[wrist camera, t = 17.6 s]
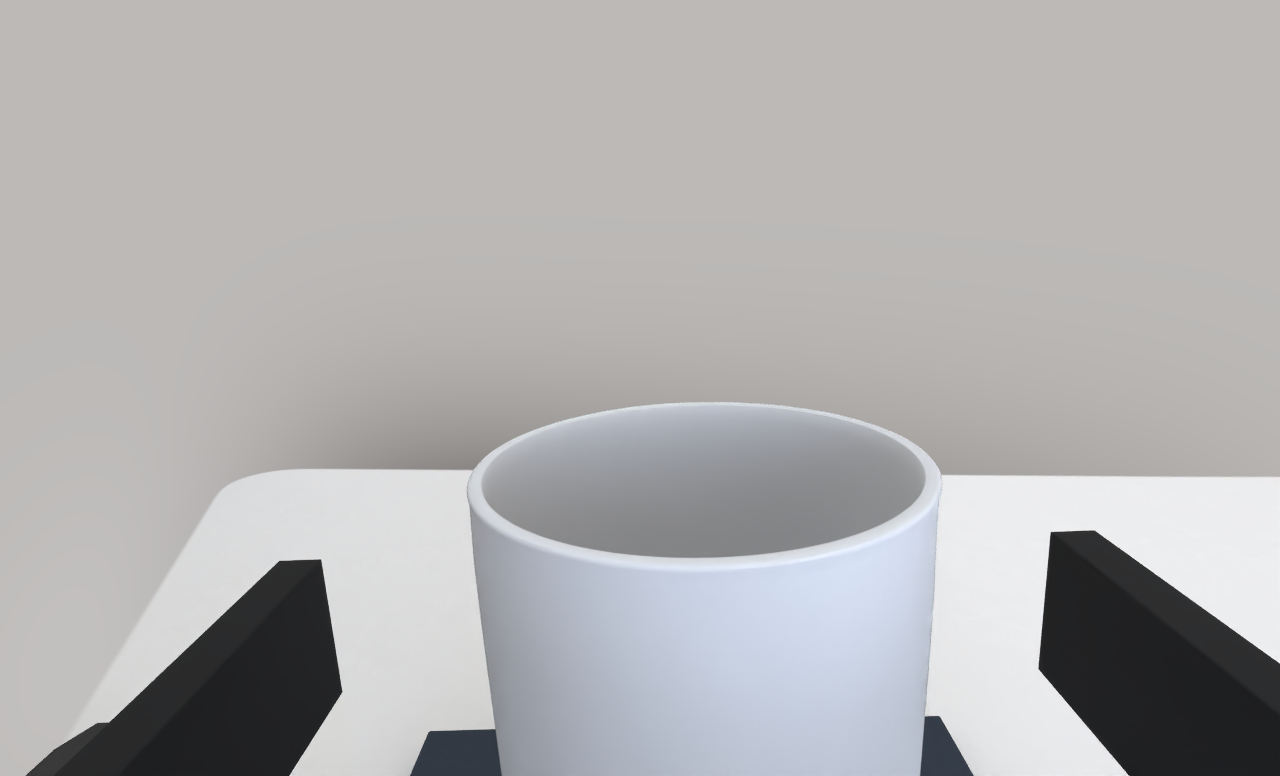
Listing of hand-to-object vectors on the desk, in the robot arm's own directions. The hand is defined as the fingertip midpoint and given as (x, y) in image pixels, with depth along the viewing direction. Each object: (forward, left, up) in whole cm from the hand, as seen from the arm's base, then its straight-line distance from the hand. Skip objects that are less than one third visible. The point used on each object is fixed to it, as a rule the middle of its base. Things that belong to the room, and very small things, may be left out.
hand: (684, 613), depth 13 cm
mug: (0, 0, -9) cm, 9 cm away
